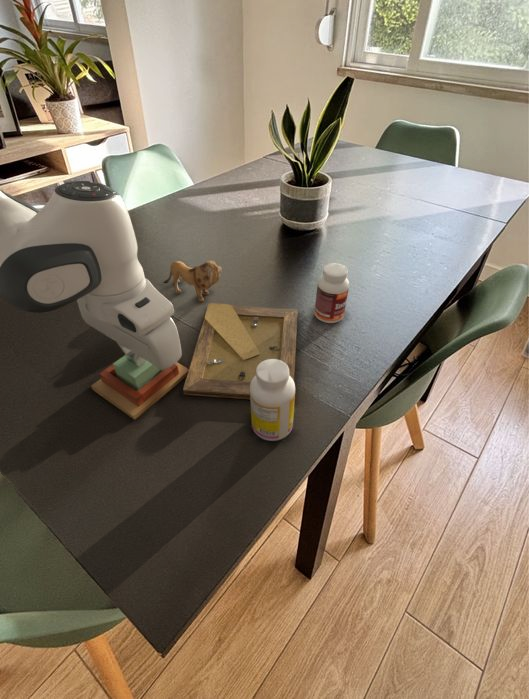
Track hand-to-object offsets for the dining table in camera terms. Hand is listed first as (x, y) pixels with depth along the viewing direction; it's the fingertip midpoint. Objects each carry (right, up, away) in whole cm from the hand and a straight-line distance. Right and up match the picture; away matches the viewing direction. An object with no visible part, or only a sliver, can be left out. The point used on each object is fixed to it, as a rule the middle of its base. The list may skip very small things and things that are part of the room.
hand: (136, 361), depth 72 cm
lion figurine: (+6, +15, +23) cm, 28 cm away
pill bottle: (+35, +9, +17) cm, 40 cm away
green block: (0, -3, +3) cm, 4 cm away
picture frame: (+18, +1, +9) cm, 20 cm away
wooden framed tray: (0, -4, +3) cm, 5 cm away
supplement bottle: (+23, -10, -3) cm, 25 cm away
